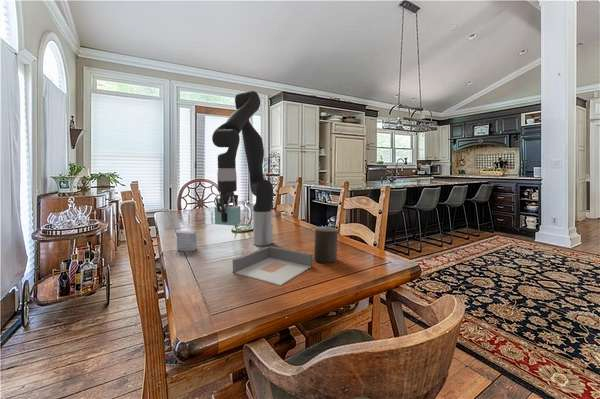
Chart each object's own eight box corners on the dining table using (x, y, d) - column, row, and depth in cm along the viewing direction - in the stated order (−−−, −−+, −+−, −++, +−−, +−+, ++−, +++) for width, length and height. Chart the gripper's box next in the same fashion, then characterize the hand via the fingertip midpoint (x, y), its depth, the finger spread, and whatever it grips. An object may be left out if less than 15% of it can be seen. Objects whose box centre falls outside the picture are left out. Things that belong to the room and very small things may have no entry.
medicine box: (197, 248, 135) (196, 231, 134) (193, 251, 131) (192, 233, 130) (181, 248, 136) (181, 230, 135) (176, 251, 132) (176, 232, 131)
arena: (269, 256, 124) (268, 245, 124) (312, 266, 113) (312, 254, 112) (232, 272, 106) (232, 259, 105) (280, 285, 94) (280, 271, 93)
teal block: (221, 221, 120) (221, 205, 119) (240, 223, 117) (240, 205, 116) (215, 224, 115) (214, 206, 114) (234, 225, 112) (234, 207, 112)
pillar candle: (321, 265, 114) (323, 229, 112) (310, 258, 123) (311, 224, 121) (341, 261, 119) (342, 227, 117) (328, 255, 127) (329, 222, 125)
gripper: (227, 178, 122) (228, 217, 124) (208, 180, 108) (210, 223, 110) (243, 179, 120) (244, 218, 122) (226, 180, 106) (227, 224, 108)
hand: (228, 220), depth 116 cm, fingers closed on teal block, 5 cm apart
